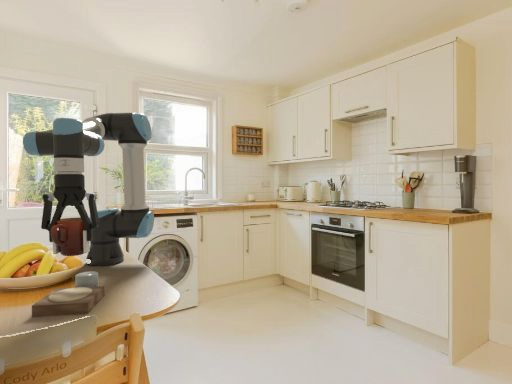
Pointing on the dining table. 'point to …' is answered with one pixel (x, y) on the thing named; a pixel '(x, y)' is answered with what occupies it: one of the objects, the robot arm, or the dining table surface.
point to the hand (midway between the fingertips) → (71, 252)
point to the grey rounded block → (86, 279)
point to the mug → (69, 236)
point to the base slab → (68, 301)
